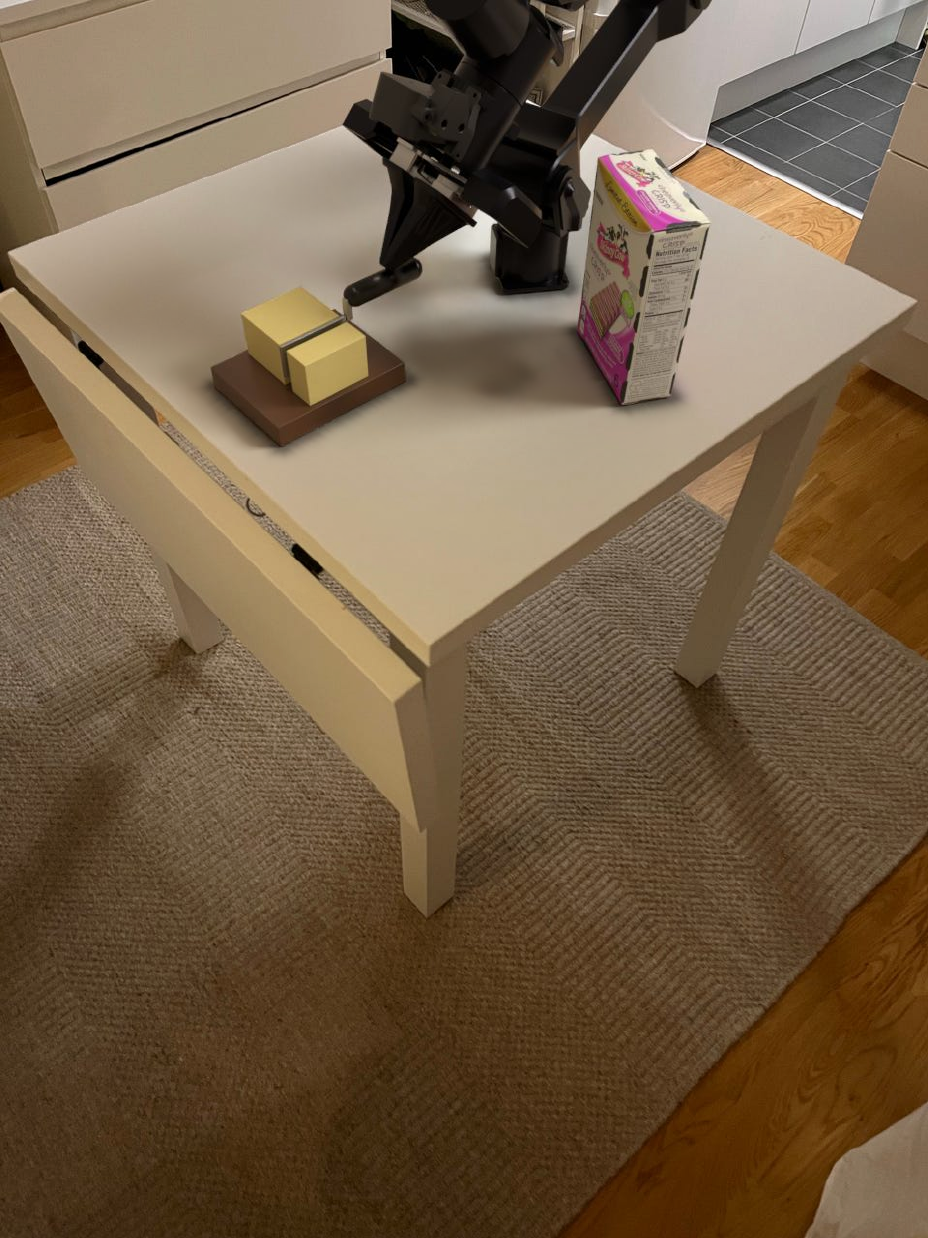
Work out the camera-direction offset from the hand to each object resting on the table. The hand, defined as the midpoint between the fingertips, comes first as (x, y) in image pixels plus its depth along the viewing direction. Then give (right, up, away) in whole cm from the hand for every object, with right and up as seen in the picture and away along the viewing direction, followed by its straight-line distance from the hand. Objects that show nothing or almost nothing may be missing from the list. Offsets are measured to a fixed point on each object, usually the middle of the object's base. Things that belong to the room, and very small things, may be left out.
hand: (384, 267), depth 78 cm
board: (-7, -8, +5) cm, 12 cm away
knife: (-3, -5, +3) cm, 7 cm away
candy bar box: (+20, -6, +7) cm, 22 cm away
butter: (-7, -7, +3) cm, 10 cm away
